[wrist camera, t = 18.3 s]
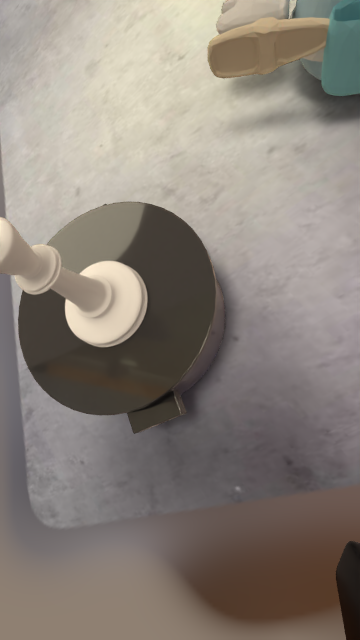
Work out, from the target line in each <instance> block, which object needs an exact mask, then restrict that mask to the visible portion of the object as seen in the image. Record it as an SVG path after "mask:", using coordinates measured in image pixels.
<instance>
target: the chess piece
mask: <svg viewBox="0 0 360 640" xmlns="http://www.w3.org/2000/svg"><path fill="white" fill-rule="evenodd" d="M0 274H9V275H15V279H16V282H17V284H18V285H19V287H20V288H22V289H23V290H24V291H25V292H27V293H29V294H33V295H36V294H41V293H44V292H46V291H47V290H49V289H52V290H54V291H55V292H57V293H58V294H60V295H62V296H63V297H65V298H66V302H65V315H66V319H67V322H68V325H69V327H70V329H71V330H72V332H73V333H74V334H75V335H76V336H77V337H78V338H80V339H81V340H83V341H85V342H87V343H88V344H90V345H93V346H97V347H110V346H114V345H117V344H120V343H122V342H124V341H125V340H127V339H128V338H129V337H130V336H132V335H133V334H134V333H135V331H136V330H137V329H138V328H139V326H140V324H141V323H142V321H143V319H144V316H145V313H146V309H147V302H148V297H147V290H146V286H145V284H144V282H143V280H142V278H141V277H140V275H139V274H138V273H137V272H136V271H135V270H133V269H132V268H130V267H129V266H126V265H124V264H122V263H120V262H116V261H102V262H98V263H95V264H93V265H91V266H89V267H87V268H86V269H84V270H83V271H82V272H81V273H80V274H77V273H75V272H72V271H69V270H67V269H64V268H62V261H61V257H60V254H59V253H58V251H57V250H56V249H55V248H53V247H52V246H49V245H44V244H37V245H33V246H31V247H30V246H29V245H28V244H27V243H26V242H25V241H24V240H23V238H22V237H21V236H20V234H19V232H18V231H17V230H16V229H15V227H14V226H13V225H12V224H11V223H10V222H9V221H8V220H6V219H4V218H2V217H0Z"/></svg>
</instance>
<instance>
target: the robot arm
mask: <svg viewBox="0 0 360 640" xmlns="http://www.w3.org/2000/svg"><path fill="white" fill-rule="evenodd" d="M336 581H337V587H338V593H339V599H340V605H341V611H342V617H343V622H344V629H345V634H346V640H360V543H358V542H353V541H349V542H348V543H347V545H346V546H345V549H344V551H343V554H342V556H341V558H340V561H339V563H338V566H337V570H336Z"/></svg>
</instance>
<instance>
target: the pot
mask: <svg viewBox="0 0 360 640" xmlns="http://www.w3.org/2000/svg"><path fill="white" fill-rule="evenodd" d="M47 245H49V246H52V247H53V248H55V249H56V250H57V251H58V253H59V254H60V257H61V261H62V268H64V269H67V270H69V271H72V272H75V273H77V274H80V273H81V272H82V271H83V270H84V269H86V268H87V267H89V266H91V265H93V264H95V263H98V262H102V261H116V262H120V263H122V264H124V265H126V266H129V267H130V268H132V269H133V270H135V271H136V272H137V273H138V274H139V275H140V277H141V278H142V280H143V282H144V284H145V286H146V290H147V297H148V302H147V309H146V313H145V316H144V319H143V321H142V323H141V324H140V326H139V328H138V329H137V330H136V331H135V333H134V334H133V335H132V336H130V337H129V338H128V339H127V340H125V341H124V342H122V343H120V344H117V345H114V346H110V347H97V346H93V345H90V344H88V343H87V342H85V341H83V340H81V339H80V338H78V337H77V336H76V335H75V334H74V333H73V332H72V330H71V329H70V327H69V325H68V322H67V319H66V315H65V302H66V298H65V297H63V296H62V295H60V294H58V293H57V292H55V291H54V290H52V289H49V290H47V291H46V292H44V293H41V294H36V295H33V294H29V293H27V292H25V291H24V290H23V292H22V295H21V301H20V306H19V317H18V328H19V339H20V345H21V349H22V352H23V356H24V359H25V361H26V364H27V366H28V368H29V370H30V372H31V374H32V375H33V377H34V379H35V380H36V381H37V383H38V384H39V385H40V386H41V388H42V389H43V390H44V391H45V392H46V393H48V394H49V395H50V396H51V397H52V398H53V399H55V400H56V401H58V402H59V403H61V404H62V405H64V406H66V407H69V408H71V409H73V410H76V411H79V412H83V413H86V414H93V415H117V414H122V413H127V414H128V417H129V420H130V424H131V427H132V430H133V433H134V434H135V433H139V432H142V431H145V430H147V429H149V428H152V427H154V426H157V425H159V424H162V423H164V422H167V421H169V420H172V419H174V418H176V417H179V416H181V415H184V414H186V413H187V412H186V409H185V407H184V404H183V401H182V398H181V396H180V395H181V394H183V393H184V392H186V391H187V390H189V389H190V388H191V387H192V386H193V385H195V384H196V383H197V382H198V381H199V380H200V379H201V378H202V377H203V375H204V374H205V373H206V372H207V371H208V369H209V367H210V366H211V364H212V363H213V361H214V359H215V357H216V355H217V353H218V351H219V349H220V345H221V342H222V339H223V335H224V329H225V317H226V314H225V303H224V298H223V294H222V291H221V288H220V285H219V283H218V281H217V279H216V277H215V272H214V268H213V265H212V262H211V259H210V257H209V254H208V252H207V250H206V248H205V247H204V245H203V243H202V241H201V239H200V238H199V237H198V236H197V234H196V233H195V232H194V230H193V229H192V228H191V227H190V226H189V225H188V224H187V223H186V222H185V221H184V220H182V219H181V218H179V217H178V216H176V215H175V214H174V213H172V212H170V211H168V210H166V209H164V208H161V207H158V206H155V205H152V204H147V203H141V202H120V203H113V204H109V205H107V204H104V205H103V206H101V207H98V208H96V209H93V210H90V211H88V212H86V213H84V214H83V215H81V216H79V217H77V218H76V219H74V220H73V221H71V222H70V223H68V224H67V225H66V226H65V227H64V228H62V229H61V230H60V231H59V232H58V233H57V234H56V235H55V236H54V237H53V238H52V239H51V240H50V241H49V242H48V244H47Z"/></svg>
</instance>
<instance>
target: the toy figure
mask: <svg viewBox="0 0 360 640" xmlns="http://www.w3.org/2000/svg"><path fill="white" fill-rule="evenodd" d="M289 1H290V0H227V1H226V2H225V3H223V6H222V9H221V11H222V15H221V16H220V17H219V18H218V22H217V25H216V27H217V31H218V33H219V34H220V35H217V36H216V37H214V38H213V39H212V40H211V41H210V42H209V45H208V62H209V65H210V69H211V70H212V72H213V74H214V75H215V76H216V77H219V78H231V77H240V76H247V75H253V74H261V75H263V74H267V73H270V72H273V71H274V70H275V69H277V68H278V67H279V66H282V65H285V64H288V63H290V62H293V61H296V60H298V59H300V60H301V62H302V64H303V66H304V68H305V70H306V71H308V72H309V73H310V74H311V75H313V76H314V77H315V78H317V79H319V80H321V83H322V87H323V89H324V91H325V92H326V93H327V94H330V95H334V96H346V95H353V94H360V0H297V2H296V7H295V8H294V10H293V12H292V14H291V16H290V19H288V17H289Z"/></svg>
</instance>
